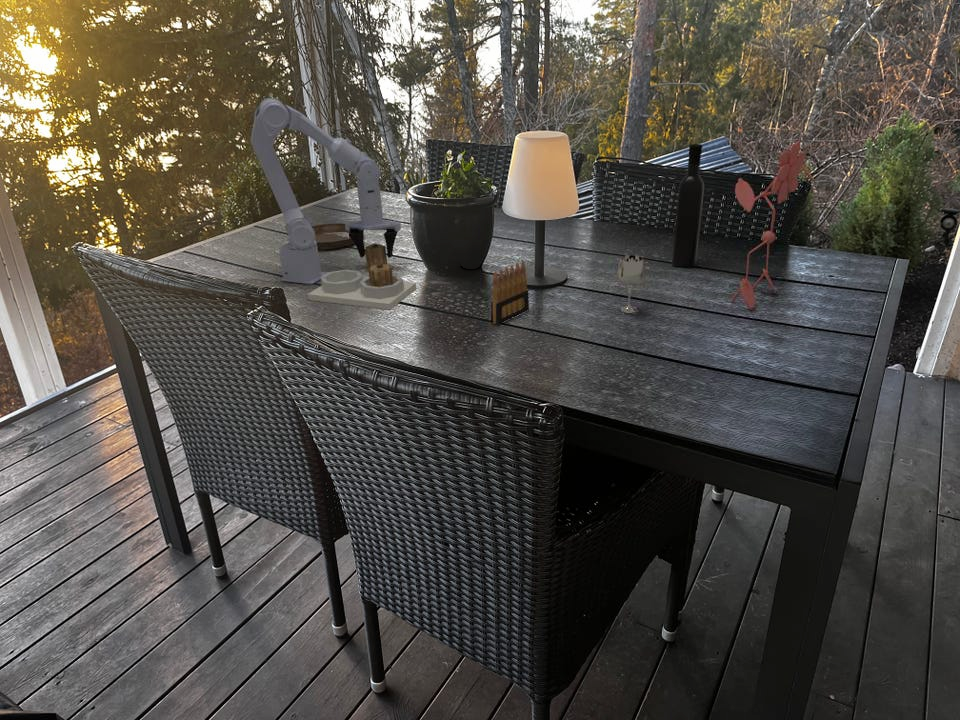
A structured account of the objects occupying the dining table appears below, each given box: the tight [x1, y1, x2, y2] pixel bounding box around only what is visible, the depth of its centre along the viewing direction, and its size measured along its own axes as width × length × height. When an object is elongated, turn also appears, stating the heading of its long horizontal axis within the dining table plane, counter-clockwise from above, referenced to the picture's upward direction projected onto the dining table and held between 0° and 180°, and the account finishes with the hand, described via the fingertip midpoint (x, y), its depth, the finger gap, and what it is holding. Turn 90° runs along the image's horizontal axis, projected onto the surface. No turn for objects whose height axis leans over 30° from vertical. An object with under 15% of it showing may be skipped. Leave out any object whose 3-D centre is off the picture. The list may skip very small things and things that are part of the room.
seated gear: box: [367, 263, 393, 287], centre depth 165 cm, size 5×5×7 cm
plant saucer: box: [311, 222, 355, 250], centre depth 209 cm, size 21×21×3 cm
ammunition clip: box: [490, 260, 530, 326], centre depth 150 cm, size 11×2×12 cm, turn 136°
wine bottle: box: [671, 143, 705, 268], centre depth 173 cm, size 6×6×30 cm
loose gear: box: [364, 243, 388, 270], centre depth 184 cm, size 5×5×7 cm
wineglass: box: [616, 254, 646, 313], centre depth 151 cm, size 6×6×12 cm
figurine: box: [730, 139, 816, 310], centre depth 146 cm, size 15×26×35 cm, turn 133°
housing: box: [307, 269, 417, 311], centre depth 168 cm, size 22×14×4 cm, turn 69°
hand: (376, 256), depth 184 cm, fingers open, 7 cm apart
